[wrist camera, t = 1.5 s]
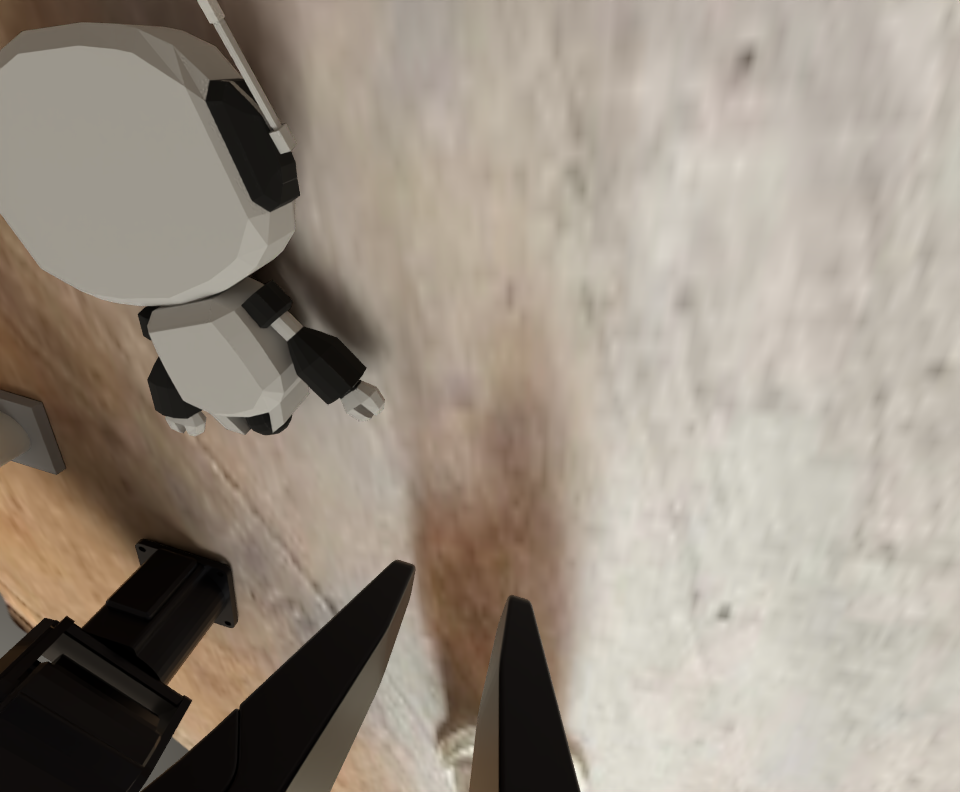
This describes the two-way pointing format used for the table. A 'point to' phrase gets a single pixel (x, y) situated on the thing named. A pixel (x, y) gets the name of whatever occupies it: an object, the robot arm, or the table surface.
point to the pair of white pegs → (27, 434)
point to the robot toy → (169, 212)
